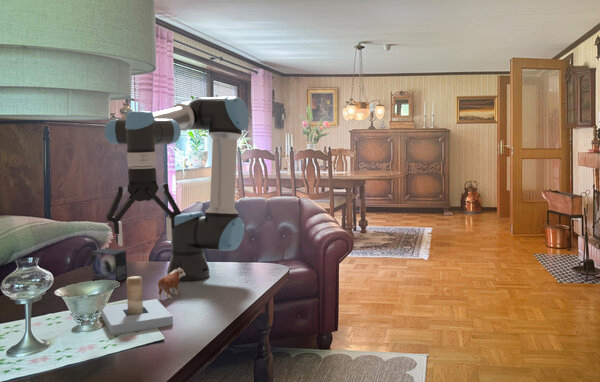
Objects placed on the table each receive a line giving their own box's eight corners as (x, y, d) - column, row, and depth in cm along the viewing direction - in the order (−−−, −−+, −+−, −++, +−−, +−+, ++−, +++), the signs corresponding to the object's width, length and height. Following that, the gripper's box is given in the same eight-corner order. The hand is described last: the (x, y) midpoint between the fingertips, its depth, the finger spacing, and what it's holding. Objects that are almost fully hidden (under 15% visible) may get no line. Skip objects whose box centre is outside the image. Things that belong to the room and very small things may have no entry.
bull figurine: (188, 290, 188) (187, 266, 187) (166, 302, 175) (165, 276, 174) (176, 289, 189) (176, 265, 188) (153, 301, 177) (152, 275, 176)
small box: (91, 280, 202) (90, 251, 201) (104, 276, 208) (103, 247, 207) (115, 283, 198) (114, 253, 197) (128, 278, 204) (126, 249, 203)
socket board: (101, 315, 163) (100, 306, 163) (157, 307, 170) (156, 299, 170) (111, 334, 147) (111, 325, 147) (173, 325, 154) (172, 316, 154)
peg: (127, 319, 159) (125, 277, 158) (141, 317, 161) (140, 275, 160) (129, 323, 156) (128, 280, 154) (144, 321, 158) (143, 278, 156)
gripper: (96, 170, 149) (101, 250, 152) (189, 166, 161) (192, 240, 163) (92, 168, 156) (97, 244, 158) (182, 164, 167) (185, 235, 170)
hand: (145, 242), depth 161 cm, fingers open, 13 cm apart
